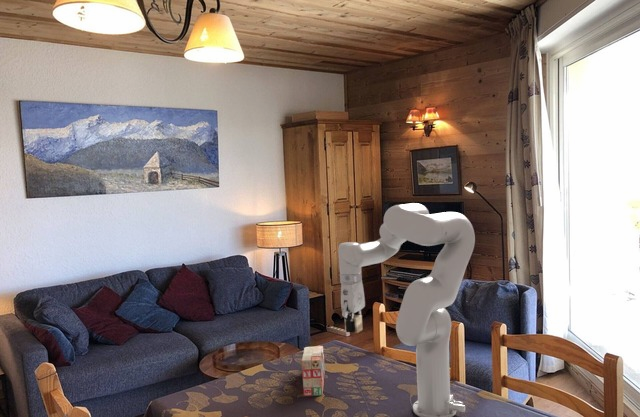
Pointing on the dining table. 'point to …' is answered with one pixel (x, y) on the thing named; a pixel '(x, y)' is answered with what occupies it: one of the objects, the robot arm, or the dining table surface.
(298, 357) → the dining table surface
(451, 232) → the robot arm
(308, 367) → the stack of blocks
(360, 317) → the tan metal block
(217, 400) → the dining table surface
